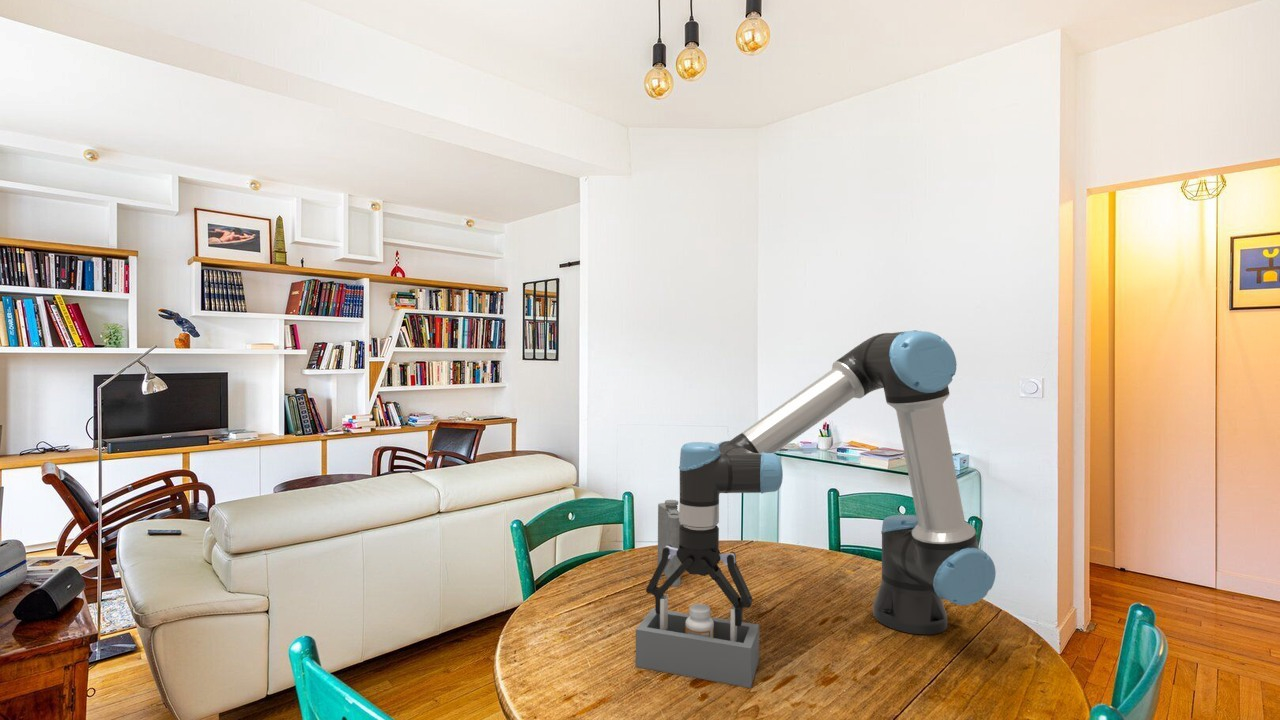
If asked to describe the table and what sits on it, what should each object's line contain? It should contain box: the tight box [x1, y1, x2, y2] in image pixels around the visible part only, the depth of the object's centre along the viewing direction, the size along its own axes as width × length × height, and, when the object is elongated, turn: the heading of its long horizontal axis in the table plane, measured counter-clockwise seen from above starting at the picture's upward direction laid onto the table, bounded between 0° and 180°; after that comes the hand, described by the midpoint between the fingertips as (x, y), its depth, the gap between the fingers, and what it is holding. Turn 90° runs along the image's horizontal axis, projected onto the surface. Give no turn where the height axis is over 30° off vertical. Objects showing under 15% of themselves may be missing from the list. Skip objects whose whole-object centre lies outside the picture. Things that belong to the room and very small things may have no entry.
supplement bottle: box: [685, 603, 714, 638], centre depth 114 cm, size 5×5×10 cm
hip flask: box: [657, 499, 681, 588], centre depth 161 cm, size 16×4×20 cm, turn 10°
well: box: [634, 607, 760, 689], centre depth 114 cm, size 22×10×7 cm, turn 71°
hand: (698, 636), depth 114 cm, fingers open, 13 cm apart
